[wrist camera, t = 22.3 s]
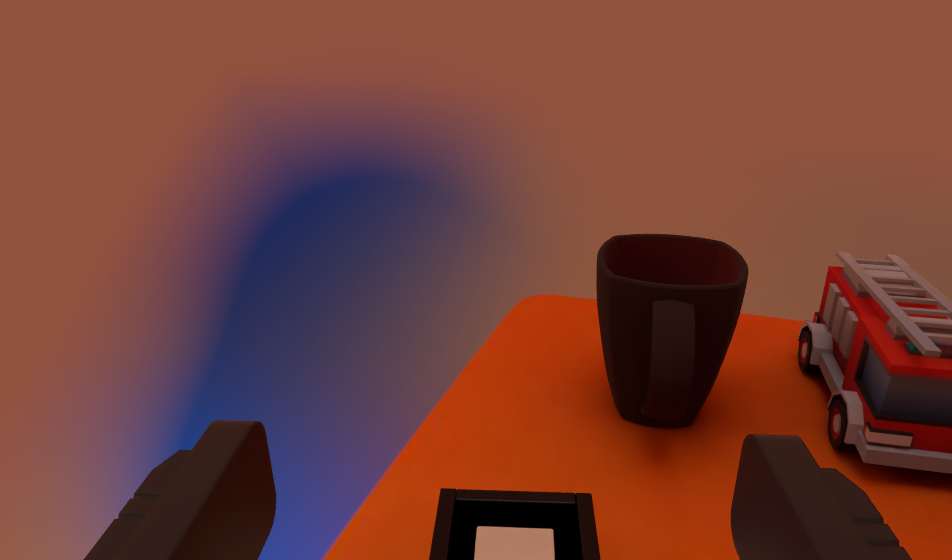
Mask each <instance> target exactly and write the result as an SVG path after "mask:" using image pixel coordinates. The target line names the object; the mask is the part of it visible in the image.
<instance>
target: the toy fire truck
mask: <svg viewBox="0 0 952 560" xmlns="http://www.w3.org/2000/svg"><path fill="white" fill-rule="evenodd" d="M836 256H837V257H838V258H839V260H840V261H841V262H842V263H843V264H844V265H845V267H831V266H829V268H828V272H827V277H826V282H825V287H824V291H823V296H822V301H821V306H820V310H819V312H815V314H814V319H813V321H807V320H805V323H804V325H802V327H801V330H800V333H799V335H798V338H797V339H798V340H799V351H798V358H799V366H800V368H801V369H802V371H806V372H816V373H818V371H819V370H820V369H821V371H822V374H823V376H824V378H825V380H826V382H827V384H828V387H829V389H830V391H831V393H832V395H831V398H830V400H829V403H828V405H827V408H828V409H830V410H829V420H828V431H829V439H830V442H831V444H832V446H833V447H834V449H840V450H849V451H853V450H855V449H856V448H857V450H858V452H859V454H860V456H861V458H862V461H863V463H870V464H878V465H886V466H894V467H902V468H910V469H918V470H926V471H934V472H942V473H950V474H952V302H951V301H950V300H949V299H947V298H946V297H945V296H944V295H943V294H942V293H940V292H939V291H938V290H937V289H936V288H935V287H934V286H932V285H931V284H930V283H929V282H928V281H926V280H925V279H924V278H923V277H922V276H921V275H920V274H918V273H917V272H916V271H915V270H914V269H913V268H911V267H910V266H909V265H908V264H907V263H906V262H904V261H903V260H902V259H901V258H900V257H899V256H898V255H886V260H872V259H858V258H852V256H851V255H850V254H849V253H848V252H837V255H836ZM863 264H874V265H863ZM878 265H889V266H878ZM893 266H894V267H893ZM938 308H939V309H940V310H939V309H938ZM947 317H949V318H950V319H951V320H949V319H948V318H947Z"/></svg>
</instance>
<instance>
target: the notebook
mask: <svg viewBox="0 0 952 560" xmlns="http://www.w3.org/2000/svg"><path fill="white" fill-rule="evenodd" d="M474 560H555V551H554V533H553V529H541V528H514V527H487V526H478V527H477V532H476V543H475V555H474Z"/></svg>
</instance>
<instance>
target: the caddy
mask: <svg viewBox="0 0 952 560" xmlns="http://www.w3.org/2000/svg"><path fill="white" fill-rule="evenodd" d="M478 526H487V527H514V528H541V529H553V533H554V551H555V560H600V553H599V545H598V538H597V531H596V524H595V516H594V509H593V502H592V495H591V494H590V493H576V495H575V493H560V492H528V491H497V490H465V489H458V490H457V491H456V489H446V488H441V490H440V496H439V503H438V509H437V515H436V521H435V527H434V533H433V539H432V545H431V551H430V557H429V560H474V555H475V543H476V532H477V527H478Z"/></svg>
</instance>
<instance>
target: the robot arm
mask: <svg viewBox="0 0 952 560" xmlns="http://www.w3.org/2000/svg"><path fill="white" fill-rule="evenodd" d="M275 510H276V492H275V485H274V479H273V473H272V467H271V461H270V455H269V450H268V443H267V437H266V432H265V428H264V426H263V424H262V423H261V422H259V421H225V420H224V421H223V420H216V421H213V422H212V423H211V424H210V425H209V427H208V428H207V430H206V431H205V432H204V434H203V435H202V436H201V438H200V439H199V441H198V442H197V443H196V445H195V446H194V448H193V449H192V450H179V451H178V452H177V453H175V454H174V455H172V456H171V457H170V458H168V459H167V460H165V461H164V462H163V463H161V464H160V465H159V466H157V467H156V468H154V469H153V470H152V471H151V472H150V474H149V475H148V476H147V478H146V479H145V480H144V482H143V483H142V484H141V485H140V487H139V488H138V489H137V491H136V492H135V493H134V498H133V499H130V500H129V501H128V502H127V504H126V505H125V506H124V508H123V509H122V511H121V512H120V513H119V518H118V519H114V521H113V522H112V523H111V525H110V526H109V527H108V529H107V530H106V531H105V533H104V534H103V535H102V536H101V538H100V539H99V540H98V542H97V543H96V544H95V546H94V547H93V548H92V550H91V551H90V552H89V553H88V555H87V556H86V557H85V559H84V560H258V557H259V555H260V553H261V551H262V549H263V546H264V544H265V542H266V540H267V538H268V536H269V533H270V531H271V528H272V525H273V521H274V516H275ZM731 528H732V536H733V541H734V544H735V548H736V551H737V553H738V556H739V558H740V560H912V559H911V558H910V556H909V555H908V553H907V552H906V550H905V549H904V548H903V547H900V546H899V540H898V539H897V537H896V536H895V535H894V533H893V532H892V530H891V529H890V527H889V526H888V525H887V524H884V522H883V517H882V516H881V514H880V513H879V512H878V510H877V509H876V507H875V506H874V504H873V503H872V502H871V500H870V499H869V497H868V496H867V494H866V493H865V492H864V491H863V490H862V489H861V488H859V487H858V486H857V485H855V484H854V483H853V482H852V481H850V480H849V479H848V478H847V477H845V476H844V475H843V474H841V473H840V472H839V471H838V470H836V469H832V468H820V467H819V466H818V464H817V462H816V461H815V459H814V458H813V456H812V455H811V453H810V451H809V450H808V448H807V447H806V445H805V444H804V442H803V441H802V439H801V438H800V437H798V436H796V435H760V434H749V435H747V436H746V437H745V439H744V442H743V446H742V451H741V457H740V462H739V468H738V473H737V479H736V485H735V490H734V496H733V501H732V507H731Z"/></svg>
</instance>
